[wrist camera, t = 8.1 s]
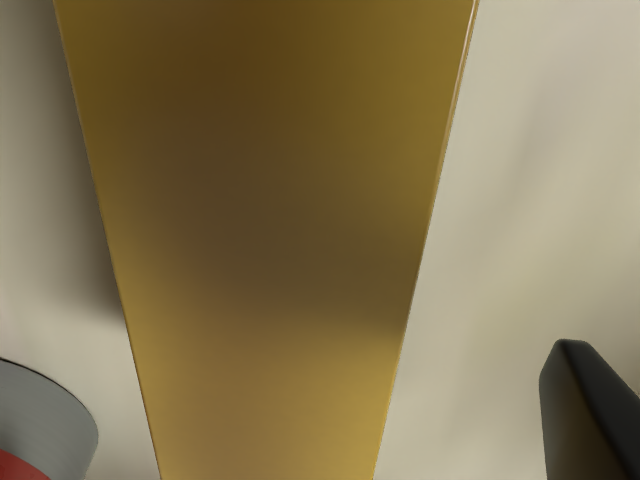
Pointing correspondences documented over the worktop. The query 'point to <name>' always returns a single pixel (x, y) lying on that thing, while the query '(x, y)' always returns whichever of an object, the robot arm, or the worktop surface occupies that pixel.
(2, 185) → the worktop surface
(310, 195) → the golden brown bar
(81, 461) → the tin can
